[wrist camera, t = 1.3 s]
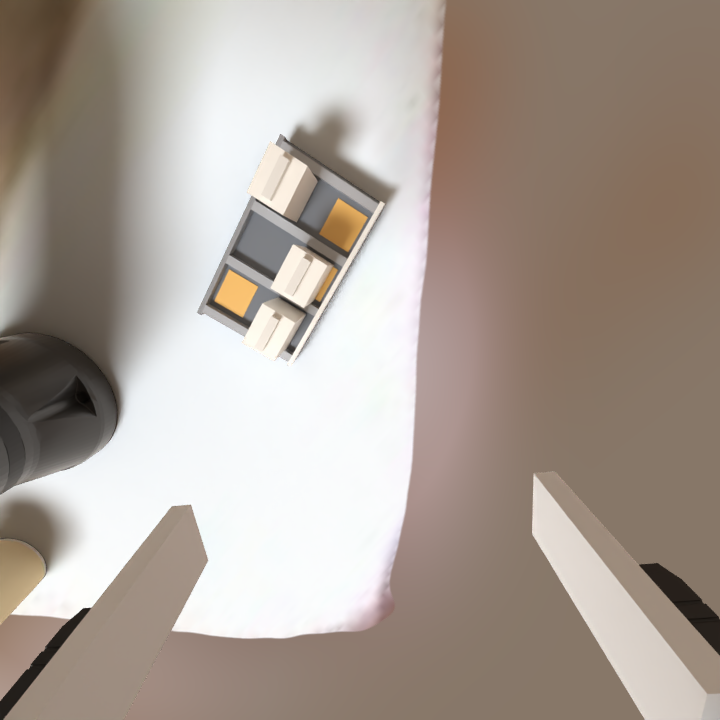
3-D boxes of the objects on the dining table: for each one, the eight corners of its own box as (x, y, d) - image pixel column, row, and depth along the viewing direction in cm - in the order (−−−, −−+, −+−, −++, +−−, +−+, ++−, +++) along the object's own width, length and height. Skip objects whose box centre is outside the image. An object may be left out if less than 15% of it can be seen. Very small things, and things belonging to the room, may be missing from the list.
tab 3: (260, 331, 32) (239, 344, 27) (278, 297, 31) (260, 303, 26) (287, 347, 33) (272, 363, 28) (306, 314, 32) (294, 323, 27)
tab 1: (266, 203, 29) (244, 190, 24) (286, 160, 28) (268, 138, 23) (296, 222, 30) (281, 214, 25) (317, 181, 29) (306, 163, 24)
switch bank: (208, 309, 34) (196, 312, 32) (287, 143, 30) (280, 134, 27) (295, 360, 35) (290, 366, 33) (383, 207, 31) (384, 203, 29)
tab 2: (285, 283, 31) (268, 288, 26) (304, 246, 30) (291, 243, 25) (313, 301, 31) (302, 308, 26) (333, 265, 31) (326, 265, 25)
